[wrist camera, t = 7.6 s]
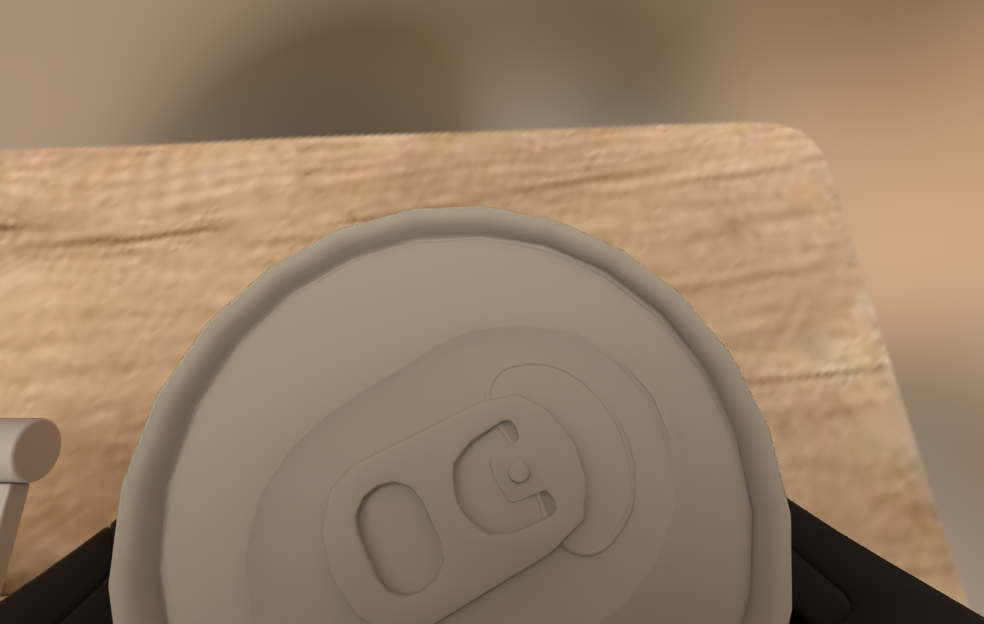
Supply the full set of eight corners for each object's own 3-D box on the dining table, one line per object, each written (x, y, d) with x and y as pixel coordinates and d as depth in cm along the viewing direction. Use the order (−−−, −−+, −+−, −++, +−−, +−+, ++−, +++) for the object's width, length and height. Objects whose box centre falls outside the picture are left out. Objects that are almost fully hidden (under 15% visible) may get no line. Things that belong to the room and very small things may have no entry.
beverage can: (571, 524, 15) (965, 667, 3) (417, 615, 14) (233, 1251, 2) (493, 376, 16) (587, 110, 5) (347, 449, 15) (2, 345, 4)
